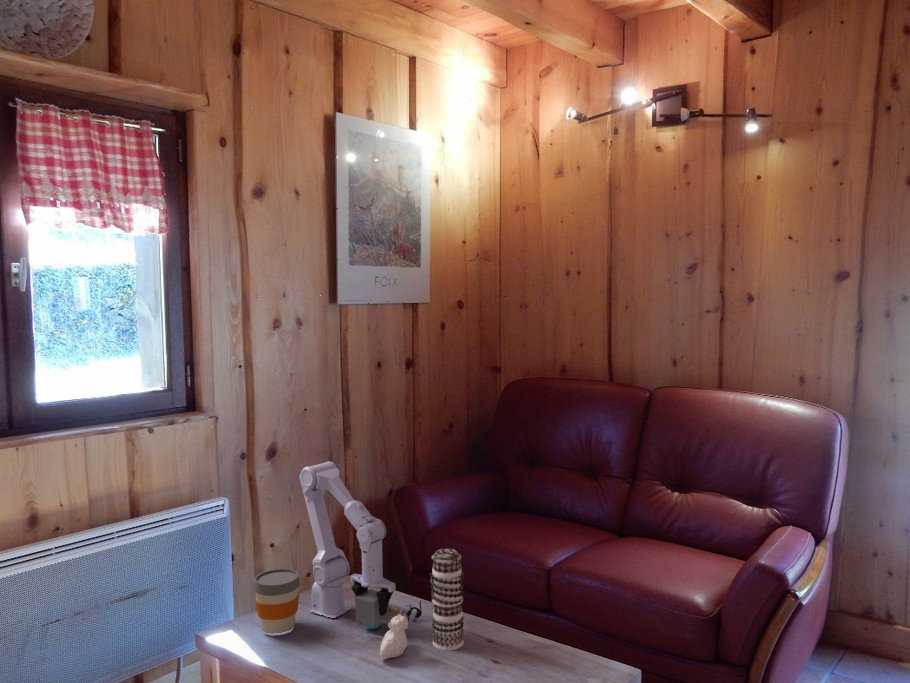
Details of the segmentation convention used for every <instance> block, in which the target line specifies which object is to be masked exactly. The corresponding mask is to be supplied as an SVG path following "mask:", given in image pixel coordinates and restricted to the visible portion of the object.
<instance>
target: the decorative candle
mask: <svg viewBox="0 0 910 683" xmlns="http://www.w3.org/2000/svg"><path fill="white" fill-rule="evenodd" d="M431 560H432V571H431V572H430V573H429V576H430V578H429V580H430V582H429V583H430V589H431V592H430V593H431V594H430V596H431V602H432V603H433V611H432V616H431V620H432V624H431V626H432V630H431V633H432V636H431V639H432V645H433V647H434V648H436V649H438V650H440V651H454V650H458V649H461V648H462V646H463V645H464V637H465V636H464V630H465V629H464V624H465V623H464V618H465V617H464V616H463V609H462V603H463V602H464V597H463V596H464V593H465V591H464V588H465V586H464V584H462V583H463V582H465V578H464V577H465V572H464V571H463V570H462V563H461V562H462V555H461V554H460V553H459V552H458V551H457V550H456V549H453V548H446V547H445V548H440V549H438V550H436V551H435V553H434V554H432V555H431Z"/></svg>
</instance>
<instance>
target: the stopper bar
mask: <svg viewBox="0 0 910 683" xmlns="http://www.w3.org/2000/svg"><path fill="white" fill-rule="evenodd" d="M388 609H389V617H390V616H391V617H390V618H393V617H395V616H397V615H398V614H401V613H400V610H401V609H400V608H398V607H395V606H390V605H388Z"/></svg>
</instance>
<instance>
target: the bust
mask: <svg viewBox="0 0 910 683" xmlns="http://www.w3.org/2000/svg"><path fill="white" fill-rule="evenodd" d="M401 614H402V613H400V614H398V615H397V616H395V617H391V620H390V622H388V623H387V626H388V628H389V630H387V632H386V633H385V634H384V636H383V639H382V641H381V643H380V649H379V656H380V660H381V661H385V660H388V659H391V658H398V657H400V656H402V655H403V653H404V651H405V650H406V648H407V644H408V640H407V634H406V631H405V630H407V629H408V626H409V622H408V618H407V617H406V616H403V615H402V616H401Z"/></svg>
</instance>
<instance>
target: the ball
mask: <svg viewBox="0 0 910 683" xmlns="http://www.w3.org/2000/svg"><path fill="white" fill-rule="evenodd" d="M382 622H383V621H381V622H380V623H378V624H377V625H375V626H373V625H369V624H366V623H364V625H365V626H366V627H367V629H370V630H375V629H378V628H379V627H380V626H381V624H382Z"/></svg>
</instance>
